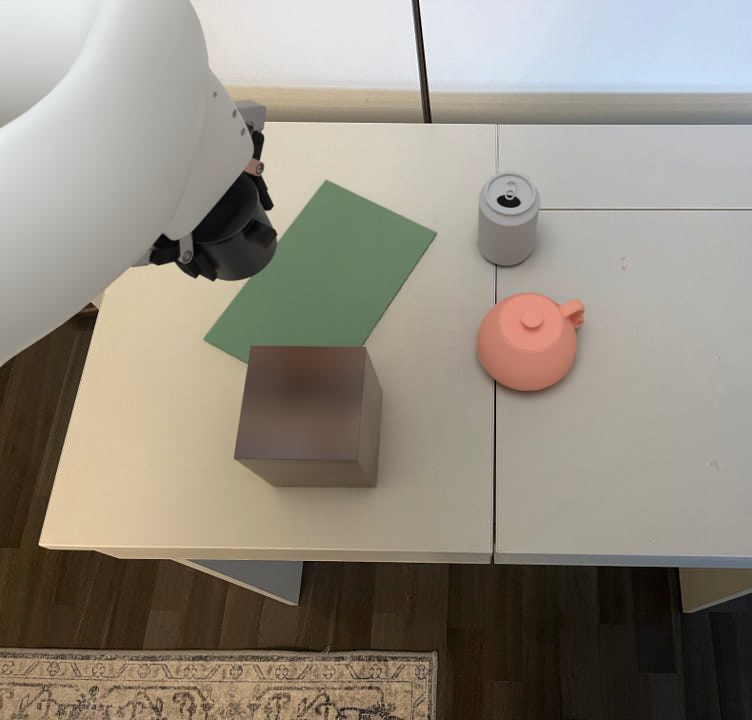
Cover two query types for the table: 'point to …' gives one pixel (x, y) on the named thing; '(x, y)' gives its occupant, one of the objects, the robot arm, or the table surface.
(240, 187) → the pot
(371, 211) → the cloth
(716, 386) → the table surface
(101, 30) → the robot arm
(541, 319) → the sugar bowl
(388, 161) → the table surface
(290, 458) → the stand
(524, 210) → the can
